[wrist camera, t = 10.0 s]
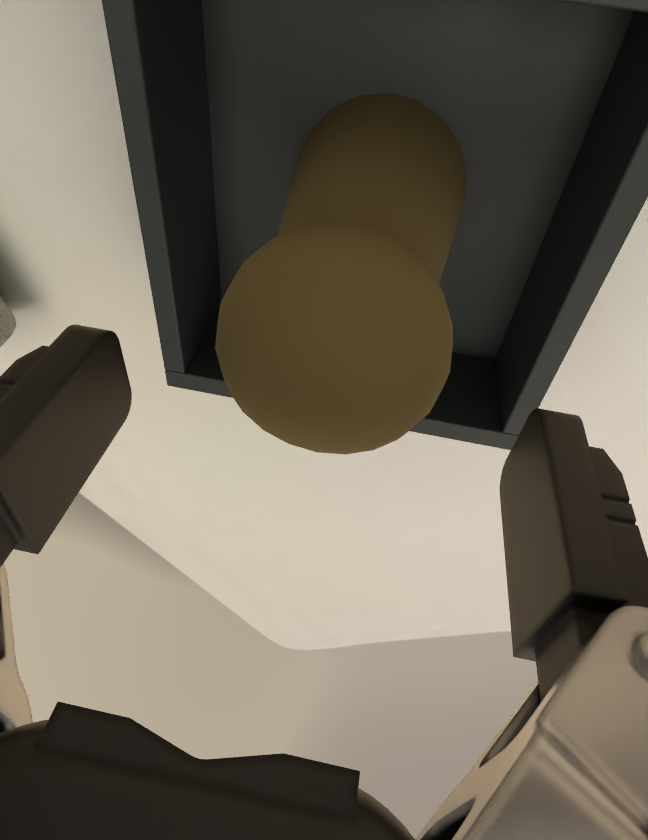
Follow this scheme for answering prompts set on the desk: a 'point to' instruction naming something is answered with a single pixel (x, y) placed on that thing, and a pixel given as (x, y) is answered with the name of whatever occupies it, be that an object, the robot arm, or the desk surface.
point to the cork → (350, 283)
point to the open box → (445, 96)
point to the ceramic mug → (6, 322)
